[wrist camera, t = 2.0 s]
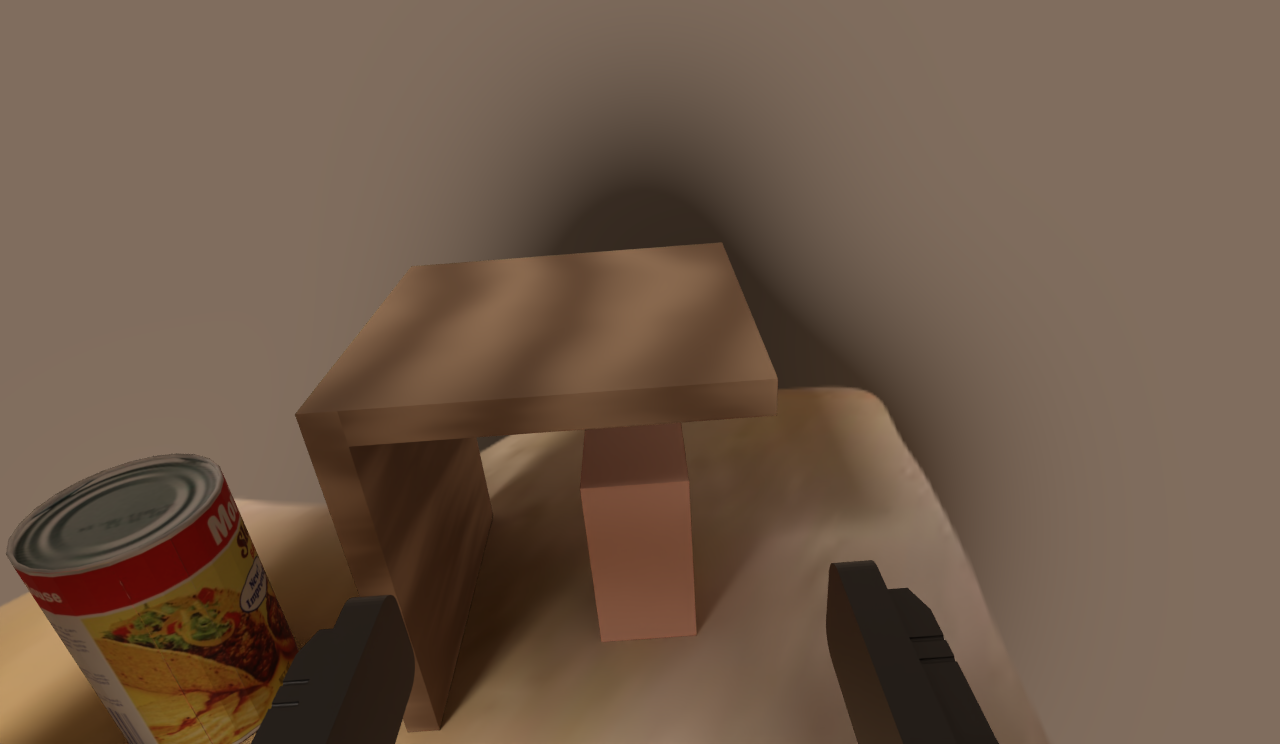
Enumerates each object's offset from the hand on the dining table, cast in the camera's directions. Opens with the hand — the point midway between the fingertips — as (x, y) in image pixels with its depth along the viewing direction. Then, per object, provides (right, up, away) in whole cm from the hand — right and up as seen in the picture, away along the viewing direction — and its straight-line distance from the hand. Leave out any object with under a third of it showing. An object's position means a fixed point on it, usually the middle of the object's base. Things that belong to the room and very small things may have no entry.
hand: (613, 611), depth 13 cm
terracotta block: (+1, -8, +26) cm, 27 cm away
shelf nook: (-2, -8, +27) cm, 28 cm away
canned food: (-21, -12, +23) cm, 33 cm away
